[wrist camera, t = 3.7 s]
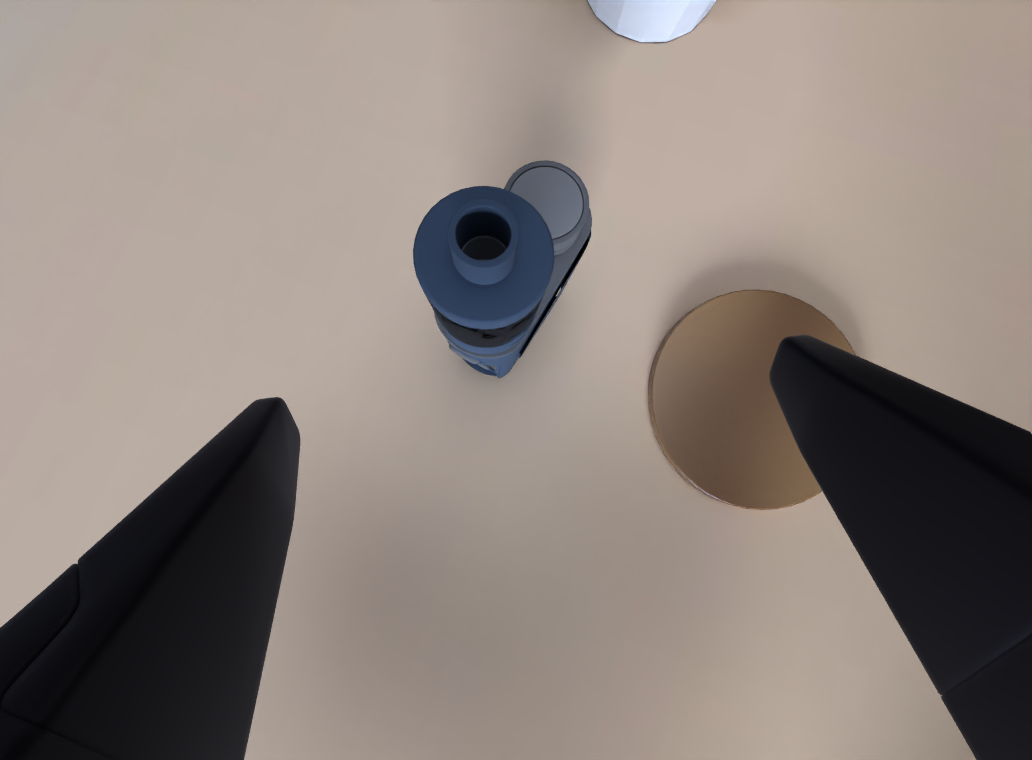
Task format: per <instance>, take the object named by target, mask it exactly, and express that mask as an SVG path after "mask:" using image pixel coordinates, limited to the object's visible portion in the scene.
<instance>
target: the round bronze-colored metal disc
mask: <svg viewBox="0 0 1032 760" xmlns="http://www.w3.org/2000/svg"><path fill="white" fill-rule="evenodd" d="M796 335H810V336H812V337H814V338H817V339H819V340H821V341H824V342H826V343H828V344H830V345H833V346H835V347H837V348H840V349H842V350H844V351H846V352H849V353H851V354H853V355H855V353H854V351H853V349H852V347H851V345H850V344H849V342H848V341H847V339H846V338H845V336H844V335H843V333H842V332H841V331H840V330H839V329H838V328H837V326H836V325H835V324H834V323H833V322H832V321H831V320H829V319H828V318H827V317H826V316H825V315H824V314H823V313H821V312H820V311H818V310H817V309H816V308H814V307H813V306H811V305H809V304H807V303H805V302H804V301H802V300H800V299H797V298H795V297H792V296H789V295H787V294H783V293H779V292H774V291H767V290H742V291H735V292H730V293H727V294H724V295H720V296H717V297H715V298H713V299H711V300H709V301H706V302H704V303H703V304H701V305H699V306H698V307H696V308H695V309H693V310H691V311H690V312H689V313H688V314H686V315H685V316H684V317H683V318H682V319H680V320H679V321H678V323H677V324H676V325H675V326H674V327H673V328H672V329H671V330H670V332H669V333H668V335H667V336H666V338H665V339H664V341H663V342H662V344H661V346H660V348H659V350H658V352H657V354H656V357H655V360H654V363H653V366H652V370H651V375H650V380H649V391H648V400H649V412H650V417H651V422H652V426H653V429H654V432H655V435H656V438H657V440H658V442H659V444H660V446H661V448H662V450H663V452H664V454H665V455H666V457H667V458H668V460H669V461H670V463H671V464H672V465H673V466H674V468H675V469H676V470H677V471H678V472H679V474H680V475H681V476H683V477H684V478H685V479H686V480H687V481H688V482H689V483H690V484H691V485H693V486H694V487H696V488H697V489H698V490H700V491H701V492H703V493H705V494H707V495H709V496H711V497H712V498H714V499H717V500H720V501H722V502H725V503H728V504H730V505H733V506H738V507H742V508H747V509H758V510H768V509H779V508H784V507H789V506H792V505H795V504H798V503H801V502H804V501H806V500H808V499H810V498H812V497H814V496H816V495H817V494H819V493H820V492H822V489H821V488H820V486H819V484H818V482H817V481H816V479H815V477H814V475H813V474H812V472H811V470H810V468H809V467H808V465H807V463H806V461H805V460H804V458H803V456H802V454H801V452H800V450H799V448H798V446H797V444H796V442H795V439H794V437H793V435H792V433H791V430H790V428H789V426H788V423H787V421H786V419H785V416H784V414H783V412H782V409H781V407H780V405H779V403H778V400H777V398H776V396H775V393H774V391H773V389H772V386H771V384H770V380H769V373H770V369H771V366H772V363H773V360H774V358H775V355H776V352H777V349H778V347H779V344H780V342H781V341H782V340H783V339H784V338H785V337H788V336H796Z"/></svg>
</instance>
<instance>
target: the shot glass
mask: <svg viewBox="0 0 1032 760" xmlns="http://www.w3.org/2000/svg"><path fill="white" fill-rule="evenodd" d="M588 2H589V4H590V6H591V8H592V10H593V12H594V14H595V16H597V17H598V18H599V19H600V20H601V21H602V22H603V23H605V24H606V25H607V26H608V27H609V28H610V29H612V30H613V31H614V32H615V33H617V34H620V35H622V36H625V37H628V38H630V39H633V40H636V41H639V42H668V41H670V40H672V39H675V38H677V37H679V36H682V35H684V34H686V33H689V32H691V31H692V30H693V29H694V28H695V26H696V25H697V24H698V23H699V22H700V21H701V20H702V19H703V18H704V17H705V16H706V15H707V14H708V12H709V11H710V9H711V8H712V6H713V5H714V3H715V2H716V0H588Z"/></svg>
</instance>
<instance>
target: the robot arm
mask: <svg viewBox="0 0 1032 760" xmlns="http://www.w3.org/2000/svg"><path fill="white" fill-rule="evenodd" d="M769 380H770V384H771V386H772V389H773V391H774V393H775V396H776V398H777V400H778V403H779V405H780V407H781V409H782V412H783V414H784V416H785V419H786V421H787V423H788V426H789V428H790V430H791V433H792V435H793V437H794V439H795V442H796V444H797V446H798V448H799V450H800V452H801V454H802V456H803V458H804V460H805V461H806V463H807V465H808V467H809V468H810V470H811V472H812V474H813V475H814V477H815V479H816V481H817V482H818V484H819V486H820V488H821V489H822V491H823V493H824V495H825V496H826V498H827V500H828V501H829V503H830V505H831V507H832V508H833V510H834V512H835V514H836V515H837V517H838V519H839V521H840V522H841V524H842V526H843V528H844V529H845V531H846V533H847V535H848V536H849V538H850V540H851V541H852V543H853V545H854V547H855V548H856V550H857V552H858V554H859V555H860V557H861V559H862V561H863V562H864V564H865V566H866V568H867V569H868V571H869V573H870V575H871V576H872V578H873V580H874V581H875V583H876V585H877V587H878V588H879V590H880V592H881V594H882V595H883V597H884V599H885V601H886V602H887V604H888V606H889V608H890V609H891V611H892V613H893V614H894V616H895V618H896V620H897V621H898V623H899V625H900V627H901V628H902V630H903V632H904V634H905V635H906V637H907V639H908V641H909V642H910V644H911V646H912V648H913V649H914V651H915V653H916V654H917V656H918V658H919V660H920V661H921V663H922V665H923V667H924V668H925V670H926V672H927V674H928V675H929V677H930V679H931V681H932V682H933V684H934V686H935V688H936V689H937V691H938V693H939V694H940V695H942V696H941V699H942V700H943V702H944V704H945V706H946V707H947V709H948V711H949V713H950V714H951V716H952V718H953V719H954V721H955V723H956V725H957V726H958V728H959V730H960V732H961V733H962V735H963V737H964V739H965V740H966V742H967V744H968V746H969V747H970V749H971V751H972V752H973V754H974V756H975V758H976V759H977V760H1032V434H1031V433H1030V432H1029V431H1027V430H1025V429H1022V428H1020V427H1018V426H1016V425H1013V424H1011V423H1009V422H1006V421H1004V420H1002V419H1000V418H997V417H995V416H993V415H990V414H988V413H986V412H984V411H981V410H979V409H977V408H974V407H972V406H970V405H968V404H965V403H963V402H961V401H958V400H956V399H954V398H952V397H949V396H947V395H945V394H942V393H940V392H938V391H936V390H933V389H931V388H929V387H926V386H924V385H922V384H920V383H917V382H915V381H913V380H910V379H908V378H906V377H904V376H901V375H899V374H897V373H894V372H892V371H890V370H888V369H885V368H883V367H881V366H878V365H876V364H874V363H872V362H869V361H867V360H865V359H862V358H860V357H858V356H856V355H853V354H851V353H849V352H846V351H844V350H842V349H840V348H837V347H835V346H833V345H830V344H828V343H826V342H824V341H821V340H819V339H817V338H814V337H812V336H810V335H796V336H788V337H785V338H784V339H783V340H782V341H781V342H780V344H779V347H778V349H777V352H776V355H775V358H774V360H773V363H772V366H771V369H770V373H769ZM299 452H300V434H299V430H298V428H297V425H296V423H295V421H294V419H293V417H292V415H291V413H290V411H289V409H288V407H287V405H286V403H285V401H284V400H283V399H281V398H279V397H274V398H265V399H259V400H256V401H254V402H253V403H252V404H250V405H249V406H248V407H247V408H246V409H245V410H244V411H243V412H242V413H240V414H239V415H238V416H237V417H236V418H235V419H234V420H233V421H232V422H230V423H229V424H228V425H227V426H226V427H225V428H224V429H223V430H222V431H220V432H219V433H218V434H217V435H216V436H215V437H214V438H213V439H212V440H210V441H209V442H208V443H207V444H206V445H205V446H204V447H203V448H202V449H200V450H199V451H198V452H197V453H196V454H195V455H194V456H193V457H192V458H190V459H189V460H188V461H187V462H186V463H185V464H184V465H183V466H182V467H180V468H179V469H178V470H177V471H176V472H175V473H174V474H173V475H172V476H170V477H169V478H168V479H167V480H166V481H165V482H164V483H163V484H162V485H160V486H159V487H158V488H157V489H156V490H155V491H154V492H153V493H152V494H151V495H149V496H148V497H147V498H146V499H145V500H144V501H143V502H142V503H141V504H139V505H138V506H137V507H136V508H135V509H134V510H133V511H132V512H131V513H129V514H128V515H127V516H126V517H125V518H124V519H123V520H122V521H121V522H119V523H118V524H117V525H116V526H115V527H114V528H113V529H112V530H110V531H109V532H108V533H107V534H106V535H105V536H104V537H103V538H102V539H100V540H99V541H98V542H97V543H96V544H95V545H94V546H93V547H92V548H90V549H89V550H88V551H87V552H86V553H85V554H84V555H83V556H82V557H80V558H79V560H78V564H73V565H71V566H70V567H69V568H68V569H67V570H66V571H65V572H64V573H63V574H61V575H60V576H59V577H58V578H57V579H56V580H55V581H54V582H53V583H51V584H50V585H49V586H48V587H47V588H46V589H45V590H43V591H42V592H41V593H40V594H39V595H38V596H37V597H35V598H34V599H33V600H32V601H31V602H30V603H29V604H27V605H26V606H25V607H24V608H23V609H22V610H21V611H19V612H18V613H17V614H16V615H15V616H14V617H13V618H11V619H10V620H9V621H8V622H7V623H5V624H4V625H3V626H2V627H1V628H0V760H244V757H245V752H246V747H247V742H248V738H249V733H250V728H251V723H252V718H253V714H254V709H255V704H256V699H257V694H258V690H259V685H260V680H261V675H262V670H263V666H264V661H265V656H266V651H267V646H268V642H269V637H270V632H271V627H272V622H273V618H274V613H275V608H276V603H277V598H278V594H279V589H280V584H281V579H282V574H283V570H284V565H285V560H286V555H287V550H288V546H289V541H290V536H291V531H292V526H293V520H294V511H295V501H296V489H297V477H298V464H299Z"/></svg>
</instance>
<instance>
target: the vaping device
mask: <svg viewBox="0 0 1032 760" xmlns="http://www.w3.org/2000/svg"><path fill="white" fill-rule="evenodd" d="M591 226H592V217H591V211H590V208H589V196H588V193H587V189H586V187H585V185H584V183H583V181H582V180H581V178H580V177H579V176H578V175H577V174H576V173H575V172H574V171H573V170H571V169H570V168H569V167H567V166H565V165H563V164H560V163H557V162H553V161H536V162H532V163H529V164H527V165H525V166H523V167H521V168H520V169H518V170H517V171H516V172H515V173H514V174H513V175H512V176H511V178H510V179H509V180H508V182H507V184H506V186H505V188H504V189H501V188H497V187H490V186H475V187H470V188H465V189H461V190H459V191H456V192H454V193H451V194H449V195H448V196H446V197H445V198H443V199H441V200H440V201H439V202H438V203H437V204H436V205H434V206H433V207H432V208H431V209H430V211H429V212H428V213H427V214H426V216H425V217H424V219H423V221H422V222H421V224H420V226H419V228H418V231H417V234H416V237H415V242H414V249H413V259H414V267H415V271H416V276H417V278H418V280H419V283H420V285H421V287H422V289H423V291H424V293H425V295H426V297H427V299H428V300H429V302H430V304H431V306H432V308H433V310H434V313H435V319H436V322H437V325H438V327H439V329H440V331H441V332H442V334H443V335H444V336H445V338H446V339H447V341H448V343H449V348H450V349H451V350H452V351H453V352H454V353H456V354H457V355H459V356H460V357H462V358H463V359H464V360H465V361H466V362H467V363H468V364H469V365H470V366H471V367H473V368H474V369H476V370H478V371H479V372H482V373H484V374H488V375H498V377H499V378H501V377H503V376H505V375H506V374H507V373H508V372H509V371H510V370H511V368H512V367H513V365H514V364H515V362H516V360H517V359H518V357H519V358H520V357H521V356H522V354H523V352H524V351H525V349H526V348H527V346H528V345H529V343H530V341H531V340H532V338H533V337H534V335H535V334H536V332H537V331H538V329H539V327H540V326H541V324H542V323H543V321H544V320H545V318H546V316H547V315H548V313H549V312H550V310H551V309H552V307H553V306H554V304H555V302H556V301H557V299H558V298H559V296H560V294H561V293H562V291H563V289H564V287H565V285H566V284H567V282H568V280H569V278H570V276H571V275H572V273H573V271H574V269H575V267H576V266H577V264H578V262H579V260H580V258H581V257H582V255H583V253H584V251H585V249H586V247H587V245H588V242H589V240H590V237H591ZM560 287H561V291H560V292H559V294H558V296H556V295H557V293H558V291H559V289H560ZM555 296H556V297H555Z"/></svg>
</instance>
